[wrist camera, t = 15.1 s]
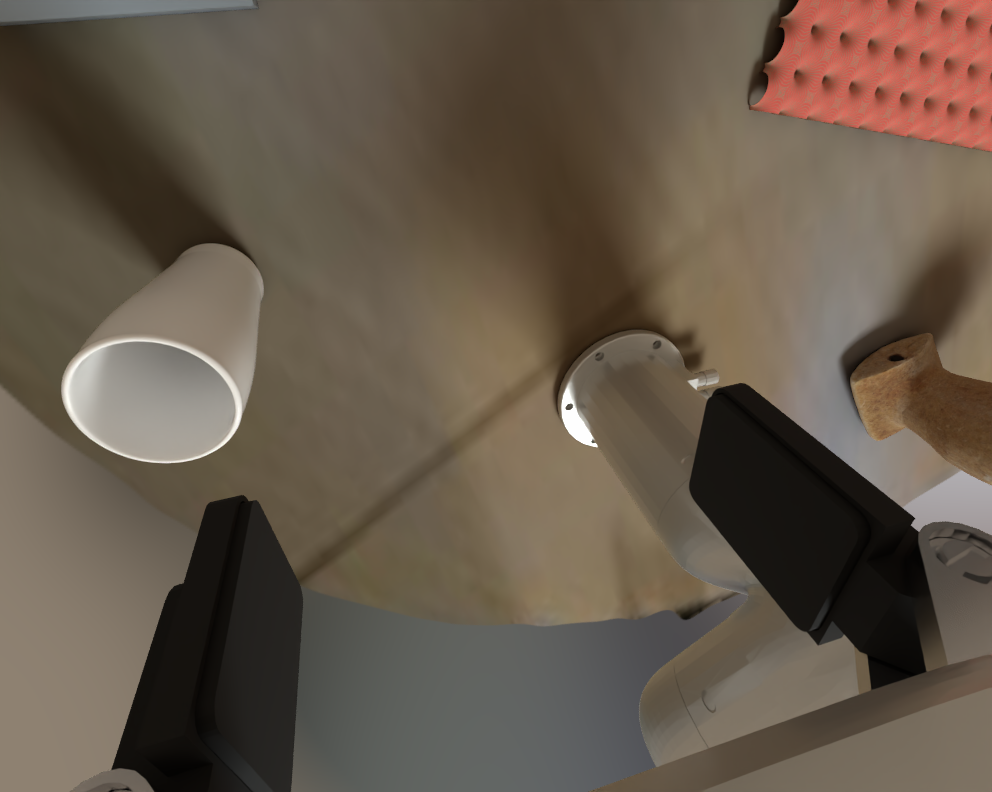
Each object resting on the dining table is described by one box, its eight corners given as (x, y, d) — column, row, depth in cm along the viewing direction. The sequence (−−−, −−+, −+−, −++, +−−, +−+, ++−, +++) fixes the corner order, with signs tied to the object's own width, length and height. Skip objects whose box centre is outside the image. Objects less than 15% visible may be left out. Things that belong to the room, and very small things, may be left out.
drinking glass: (172, 210, 30) (65, 310, 18) (288, 253, 33) (261, 362, 21) (153, 307, 33) (49, 448, 21) (262, 338, 36) (224, 478, 24)
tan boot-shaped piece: (946, 382, 61) (1095, 462, 49) (859, 441, 63) (982, 532, 51) (934, 299, 52) (1113, 371, 40) (834, 370, 54) (975, 459, 42)
